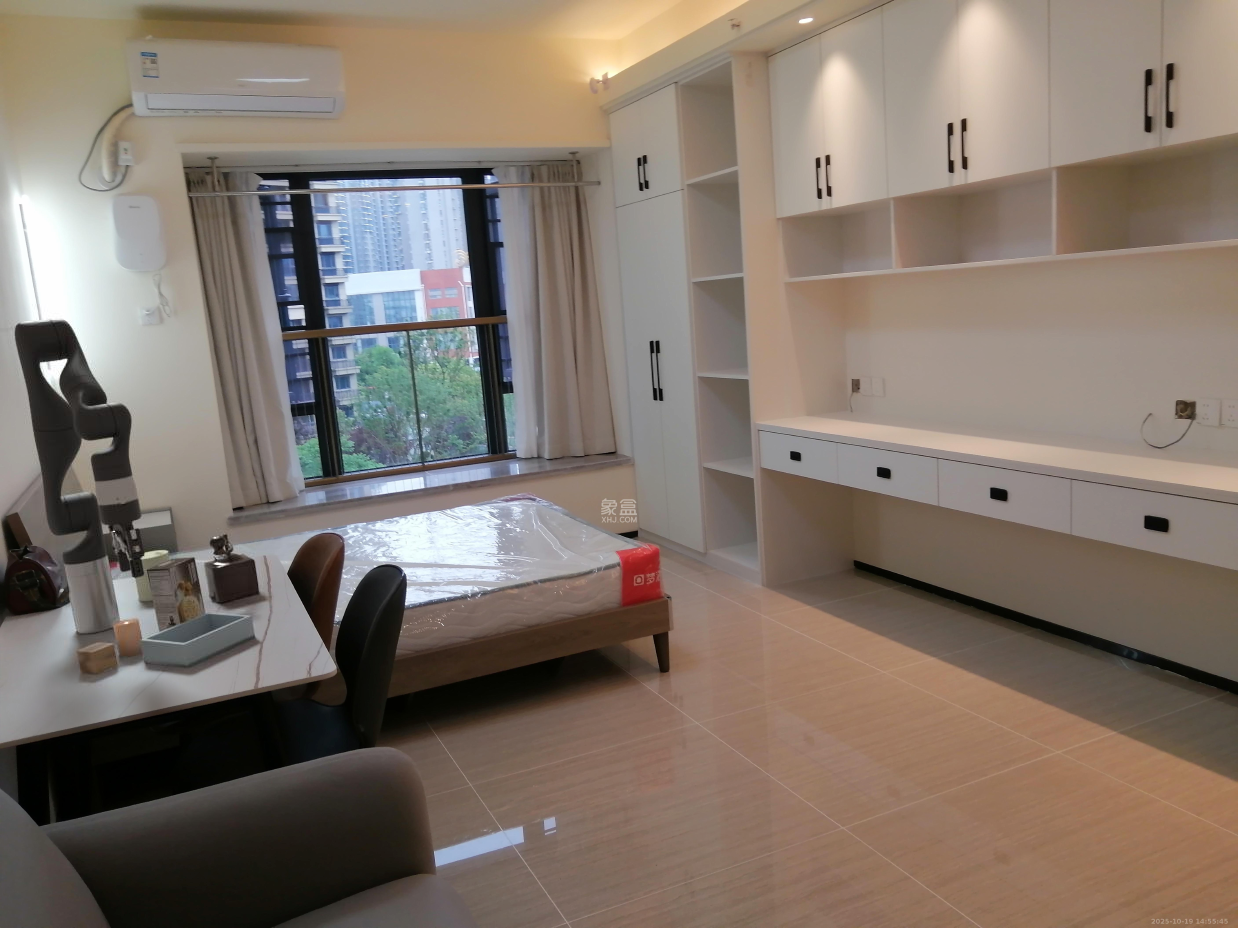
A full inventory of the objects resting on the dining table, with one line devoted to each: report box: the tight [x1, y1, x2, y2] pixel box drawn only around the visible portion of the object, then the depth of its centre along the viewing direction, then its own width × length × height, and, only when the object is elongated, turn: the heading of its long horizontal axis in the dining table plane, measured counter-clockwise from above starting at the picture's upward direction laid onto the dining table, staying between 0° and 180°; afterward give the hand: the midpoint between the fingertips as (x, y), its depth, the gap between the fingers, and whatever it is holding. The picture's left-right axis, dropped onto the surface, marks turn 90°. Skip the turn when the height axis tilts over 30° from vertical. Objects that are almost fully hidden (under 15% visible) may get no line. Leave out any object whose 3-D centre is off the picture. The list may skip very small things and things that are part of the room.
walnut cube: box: [76, 641, 119, 676], centre depth 195 cm, size 5×5×5 cm
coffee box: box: [147, 556, 207, 633], centre depth 217 cm, size 9×6×16 cm
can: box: [134, 549, 170, 602], centre depth 250 cm, size 9×9×12 cm
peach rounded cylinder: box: [113, 618, 143, 658], centre depth 204 cm, size 5×5×7 cm
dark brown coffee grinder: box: [203, 533, 260, 604], centre depth 239 cm, size 16×11×18 cm
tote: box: [140, 611, 256, 668], centre depth 201 cm, size 14×18×5 cm
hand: (132, 573), depth 197 cm, fingers open, 8 cm apart
